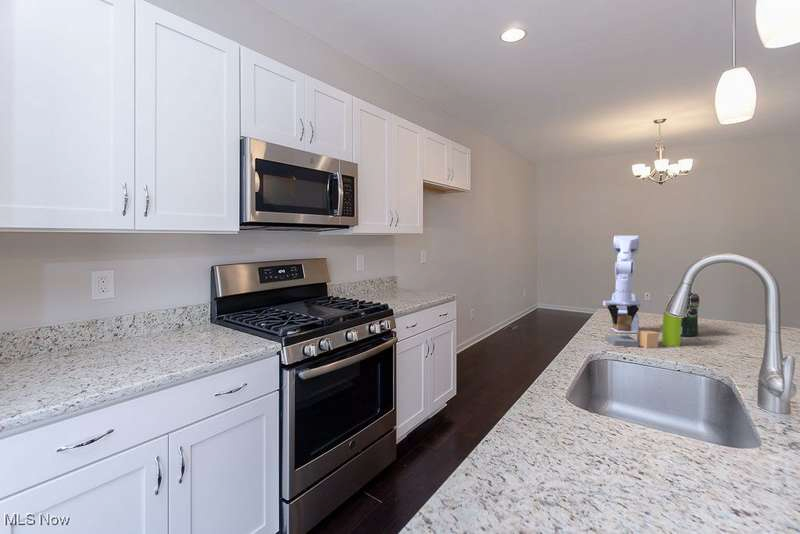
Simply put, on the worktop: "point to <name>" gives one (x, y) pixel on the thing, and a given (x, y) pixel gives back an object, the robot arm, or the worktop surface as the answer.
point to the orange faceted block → (648, 338)
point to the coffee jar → (691, 318)
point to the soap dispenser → (671, 330)
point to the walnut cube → (623, 322)
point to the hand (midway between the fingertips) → (622, 323)
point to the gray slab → (622, 340)
